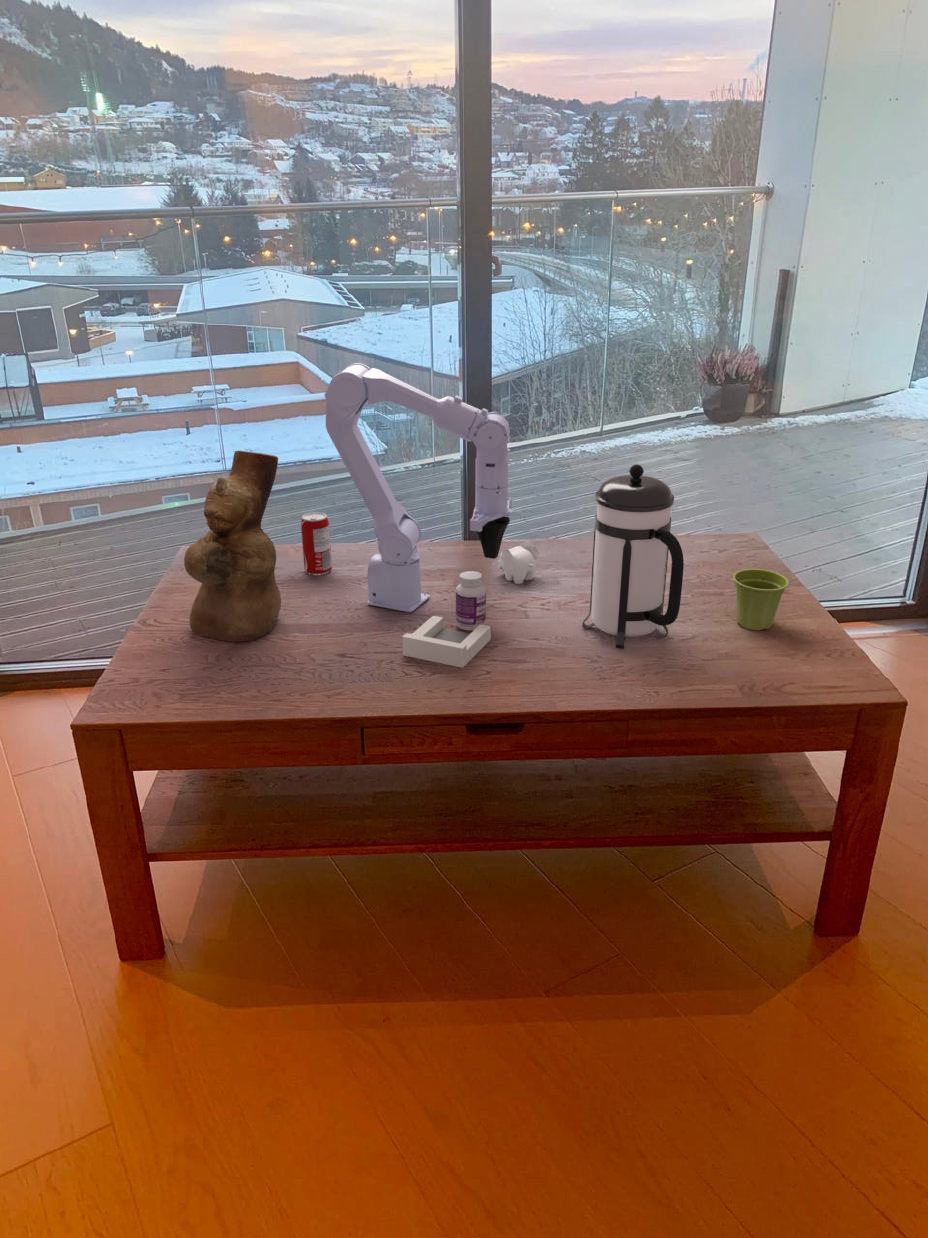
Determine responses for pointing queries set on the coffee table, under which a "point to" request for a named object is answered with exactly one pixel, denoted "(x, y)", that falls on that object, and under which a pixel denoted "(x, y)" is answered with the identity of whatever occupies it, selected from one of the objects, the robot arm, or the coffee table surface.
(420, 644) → the cradle
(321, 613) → the coffee table surface
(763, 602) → the plant pot
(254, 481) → the ceramic vessel
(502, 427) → the robot arm
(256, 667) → the coffee table surface
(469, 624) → the pill bottle
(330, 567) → the soda can
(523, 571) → the elephant figurine
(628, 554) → the coffee press
